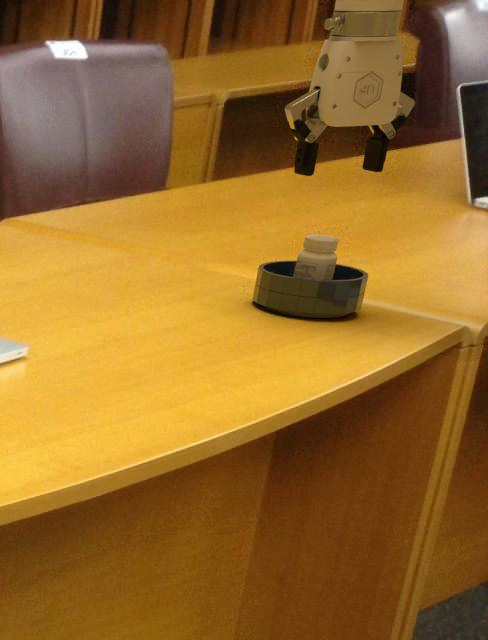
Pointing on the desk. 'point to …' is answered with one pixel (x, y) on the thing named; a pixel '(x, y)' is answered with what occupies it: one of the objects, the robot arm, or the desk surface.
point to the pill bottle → (317, 258)
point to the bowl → (309, 291)
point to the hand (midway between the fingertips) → (337, 172)
